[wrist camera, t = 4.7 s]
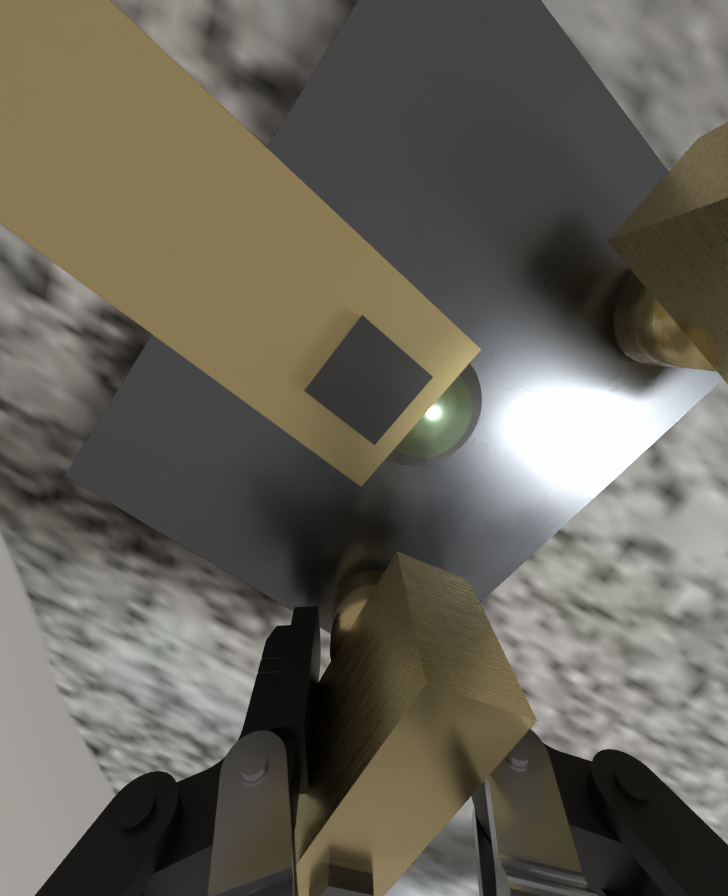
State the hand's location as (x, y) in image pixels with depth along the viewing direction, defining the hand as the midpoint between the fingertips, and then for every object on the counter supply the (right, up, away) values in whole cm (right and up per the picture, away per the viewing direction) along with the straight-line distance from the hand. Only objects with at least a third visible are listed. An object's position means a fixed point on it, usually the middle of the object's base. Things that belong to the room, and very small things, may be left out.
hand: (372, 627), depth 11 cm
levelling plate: (+1, +8, +1) cm, 8 cm away
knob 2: (0, 0, +1) cm, 1 cm away
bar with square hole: (-2, +10, -2) cm, 10 cm away
